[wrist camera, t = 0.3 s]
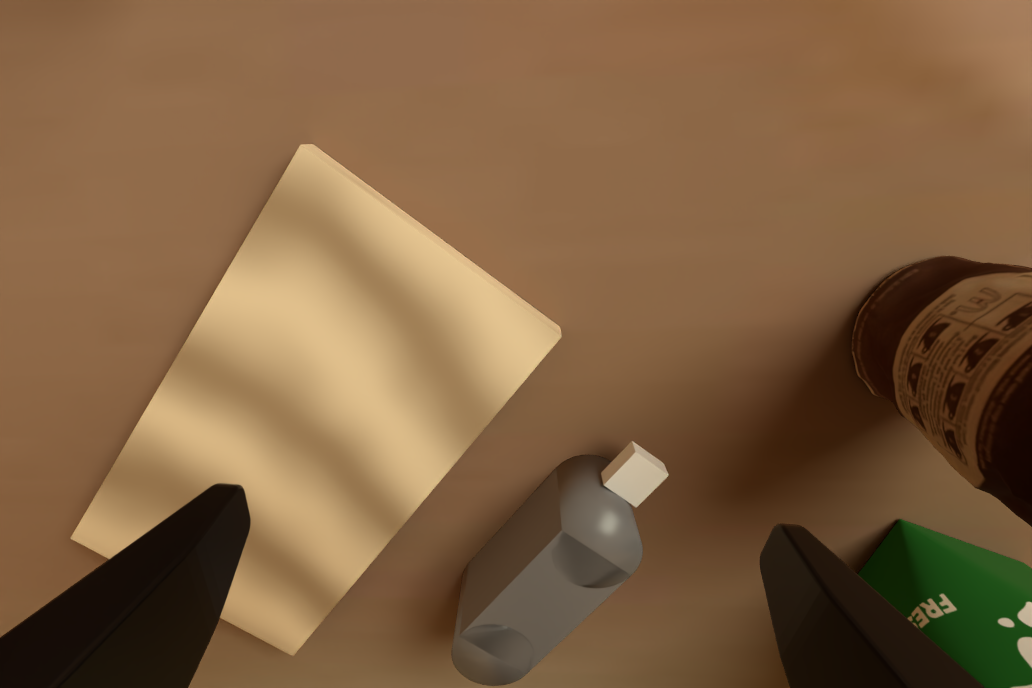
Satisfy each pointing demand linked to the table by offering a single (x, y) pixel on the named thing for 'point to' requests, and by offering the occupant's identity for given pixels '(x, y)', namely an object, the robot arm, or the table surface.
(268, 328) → the birch board
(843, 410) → the table surface
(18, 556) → the table surface
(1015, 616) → the milk carton
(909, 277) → the coffee cup
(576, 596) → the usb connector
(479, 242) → the table surface
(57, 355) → the table surface
